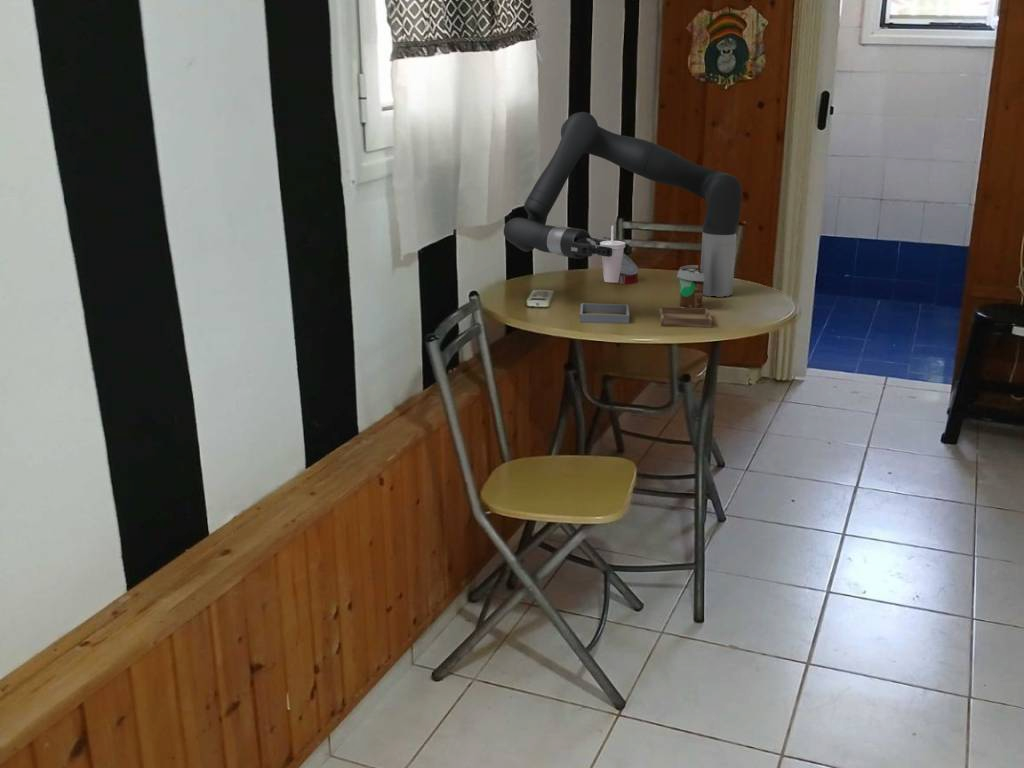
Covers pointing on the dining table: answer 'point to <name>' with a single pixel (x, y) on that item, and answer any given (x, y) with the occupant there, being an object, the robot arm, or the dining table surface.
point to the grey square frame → (604, 317)
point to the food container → (691, 286)
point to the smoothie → (612, 259)
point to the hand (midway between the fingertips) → (619, 250)
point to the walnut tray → (685, 317)
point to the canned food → (627, 272)
